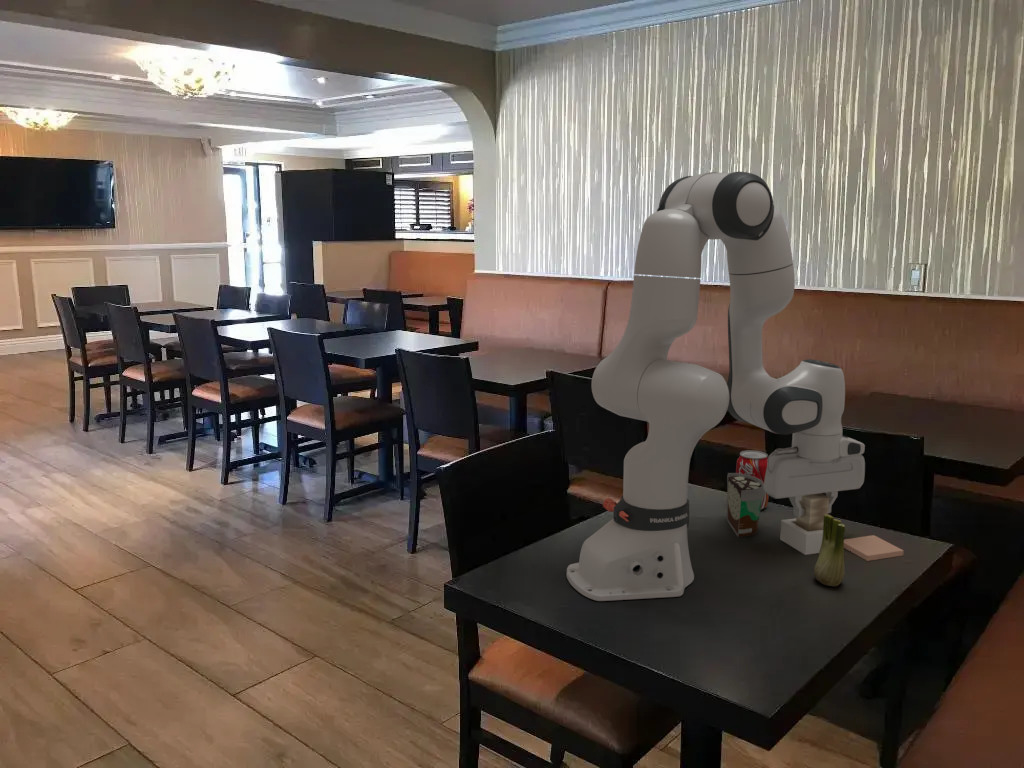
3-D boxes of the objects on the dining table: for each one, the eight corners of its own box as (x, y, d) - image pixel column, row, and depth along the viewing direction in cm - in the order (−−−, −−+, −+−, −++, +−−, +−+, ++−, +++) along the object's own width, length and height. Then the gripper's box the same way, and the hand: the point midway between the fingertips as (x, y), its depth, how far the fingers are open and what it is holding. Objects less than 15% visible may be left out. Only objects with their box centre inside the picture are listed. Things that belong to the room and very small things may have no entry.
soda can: (771, 512, 182) (774, 458, 180) (738, 512, 182) (741, 458, 180) (763, 501, 189) (765, 449, 187) (731, 501, 189) (733, 449, 187)
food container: (771, 539, 167) (774, 491, 165) (740, 540, 168) (742, 491, 166) (754, 517, 180) (756, 471, 178) (725, 517, 180) (727, 472, 178)
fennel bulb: (844, 591, 145) (849, 524, 142) (813, 588, 146) (818, 522, 144) (842, 577, 150) (847, 513, 148) (812, 574, 152) (817, 510, 149)
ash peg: (807, 549, 162) (810, 499, 160) (795, 542, 166) (798, 493, 164) (825, 547, 164) (828, 497, 162) (812, 539, 167) (815, 491, 165)
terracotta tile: (867, 561, 157) (867, 555, 157) (838, 545, 164) (839, 540, 164) (903, 555, 159) (903, 550, 159) (873, 539, 167) (873, 535, 167)
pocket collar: (805, 554, 160) (806, 534, 159) (780, 539, 167) (781, 520, 167) (841, 549, 162) (842, 529, 161) (814, 534, 170) (816, 515, 169)
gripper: (778, 454, 155) (774, 526, 158) (872, 444, 161) (867, 513, 164) (759, 445, 161) (755, 515, 164) (850, 436, 167) (845, 503, 169)
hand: (812, 514), depth 164 cm, fingers open, 4 cm apart
